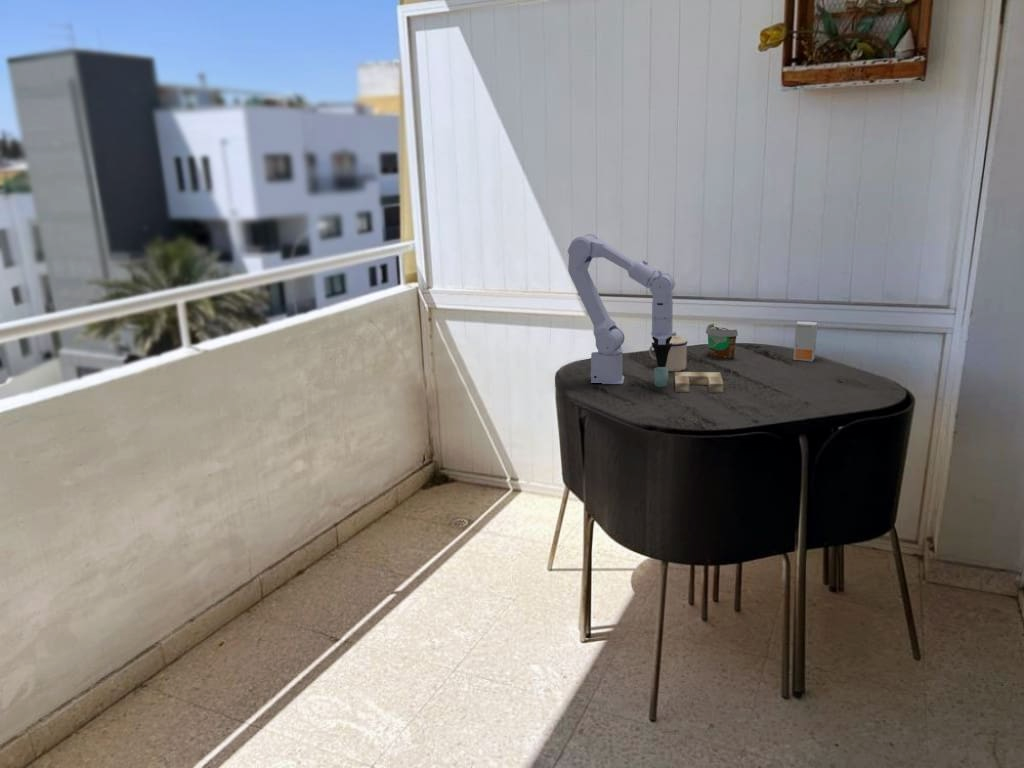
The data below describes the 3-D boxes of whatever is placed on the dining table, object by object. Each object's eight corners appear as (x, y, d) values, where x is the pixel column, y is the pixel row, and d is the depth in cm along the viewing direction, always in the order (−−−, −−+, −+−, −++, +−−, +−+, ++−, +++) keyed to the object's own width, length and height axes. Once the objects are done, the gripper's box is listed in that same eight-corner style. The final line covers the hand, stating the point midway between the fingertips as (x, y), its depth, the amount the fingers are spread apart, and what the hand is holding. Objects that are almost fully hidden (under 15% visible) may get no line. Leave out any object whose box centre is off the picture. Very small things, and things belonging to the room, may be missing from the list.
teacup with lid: (689, 365, 231) (690, 329, 228) (682, 372, 223) (683, 336, 220) (653, 362, 236) (653, 327, 233) (645, 369, 229) (645, 333, 225)
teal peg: (654, 387, 210) (654, 370, 209) (654, 383, 214) (654, 366, 213) (668, 387, 210) (668, 370, 208) (668, 383, 213) (668, 367, 212)
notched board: (675, 391, 205) (675, 383, 204) (674, 379, 216) (674, 371, 216) (723, 392, 202) (723, 383, 202) (719, 380, 214) (720, 372, 213)
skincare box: (792, 360, 232) (795, 323, 229) (795, 357, 236) (797, 320, 232) (813, 361, 229) (816, 324, 226) (815, 358, 233) (818, 322, 229)
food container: (697, 354, 244) (698, 325, 241) (711, 352, 246) (712, 323, 244) (721, 362, 233) (723, 332, 230) (736, 359, 236) (738, 329, 233)
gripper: (677, 322, 199) (676, 369, 202) (676, 312, 212) (675, 357, 216) (650, 322, 200) (650, 369, 204) (651, 312, 214) (651, 357, 217)
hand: (661, 363), depth 210 cm, fingers open, 7 cm apart
